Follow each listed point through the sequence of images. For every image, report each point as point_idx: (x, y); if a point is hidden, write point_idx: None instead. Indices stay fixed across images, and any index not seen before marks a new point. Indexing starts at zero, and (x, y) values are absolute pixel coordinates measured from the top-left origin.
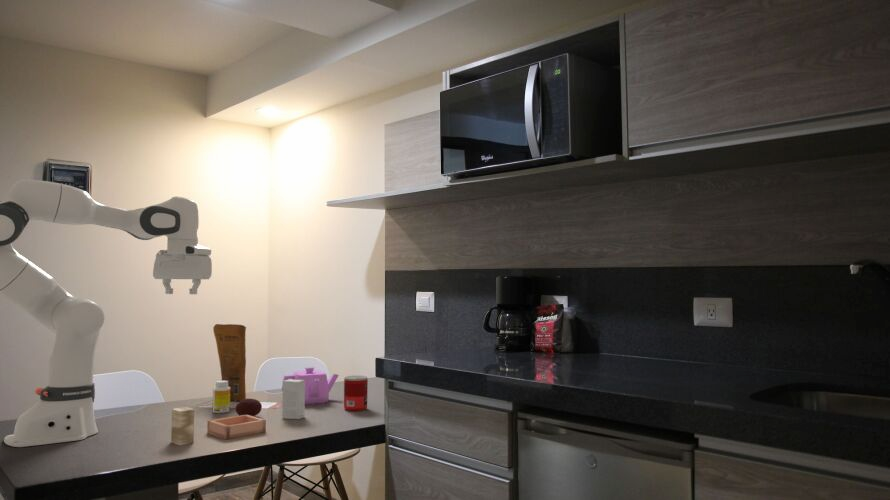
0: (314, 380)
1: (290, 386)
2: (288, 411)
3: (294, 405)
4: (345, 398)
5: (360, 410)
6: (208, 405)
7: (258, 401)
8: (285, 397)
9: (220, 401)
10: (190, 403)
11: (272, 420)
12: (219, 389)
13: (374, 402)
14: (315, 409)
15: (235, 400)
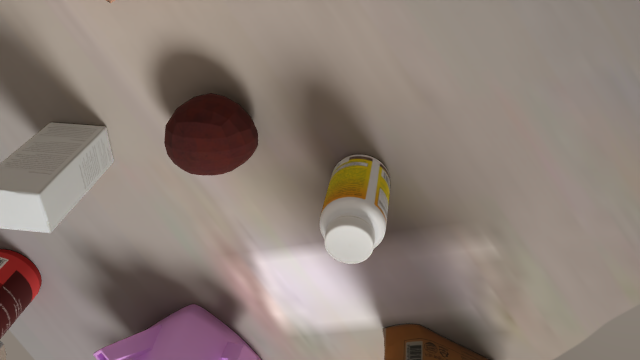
0: (112, 357)
1: (16, 179)
2: (72, 135)
3: (40, 144)
4: (3, 277)
5: None
6: (470, 260)
7: (171, 156)
8: (59, 159)
9: (343, 176)
10: (557, 280)
11: (114, 94)
12: (342, 201)
13: (30, 347)
14: (107, 254)
15: (415, 326)
